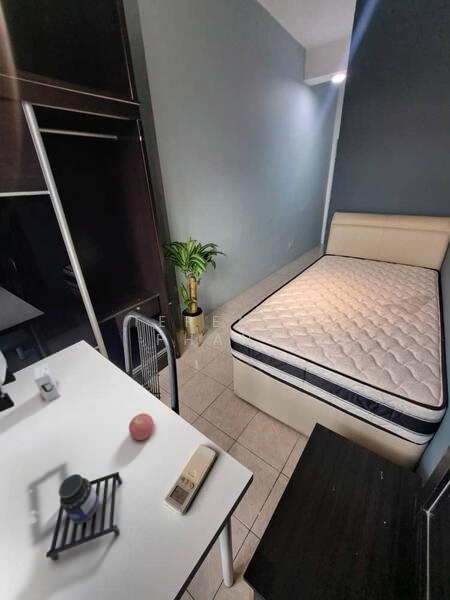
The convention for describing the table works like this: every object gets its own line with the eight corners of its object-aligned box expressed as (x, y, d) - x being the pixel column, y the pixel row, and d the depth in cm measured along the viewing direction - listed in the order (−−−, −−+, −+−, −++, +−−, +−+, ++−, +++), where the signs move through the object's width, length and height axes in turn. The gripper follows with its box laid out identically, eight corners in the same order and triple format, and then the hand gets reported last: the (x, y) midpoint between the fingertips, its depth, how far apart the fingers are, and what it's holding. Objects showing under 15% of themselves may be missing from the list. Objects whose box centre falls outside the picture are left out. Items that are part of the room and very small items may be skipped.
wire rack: (54, 565, 55) (45, 556, 52) (68, 500, 66) (61, 491, 63) (120, 538, 58) (115, 529, 56) (123, 481, 69) (118, 471, 67)
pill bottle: (66, 518, 58) (47, 495, 53) (86, 490, 63) (71, 466, 58) (85, 529, 56) (68, 506, 51) (105, 499, 61) (91, 475, 56)
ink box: (44, 389, 101) (32, 367, 95) (58, 383, 103) (47, 361, 98) (46, 403, 94) (33, 380, 89) (61, 396, 97) (49, 374, 91)
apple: (134, 449, 77) (127, 433, 73) (131, 429, 83) (125, 414, 79) (157, 438, 80) (152, 422, 76) (153, 420, 85) (148, 404, 82)
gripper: (-47, 326, 56) (-9, 381, 64) (-69, 370, 43) (-18, 430, 51) (-5, 315, 60) (26, 368, 68) (-14, 352, 47) (26, 411, 55)
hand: (7, 395), depth 60 cm, fingers open, 9 cm apart
